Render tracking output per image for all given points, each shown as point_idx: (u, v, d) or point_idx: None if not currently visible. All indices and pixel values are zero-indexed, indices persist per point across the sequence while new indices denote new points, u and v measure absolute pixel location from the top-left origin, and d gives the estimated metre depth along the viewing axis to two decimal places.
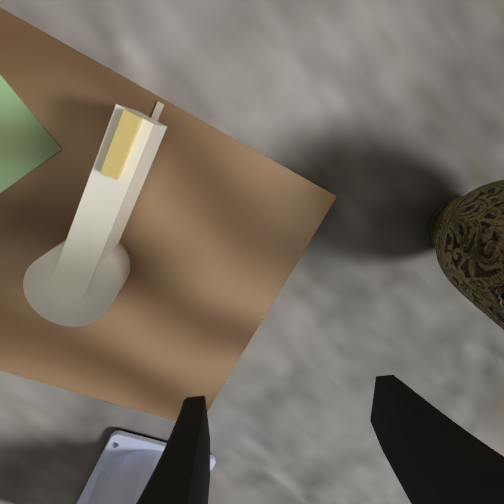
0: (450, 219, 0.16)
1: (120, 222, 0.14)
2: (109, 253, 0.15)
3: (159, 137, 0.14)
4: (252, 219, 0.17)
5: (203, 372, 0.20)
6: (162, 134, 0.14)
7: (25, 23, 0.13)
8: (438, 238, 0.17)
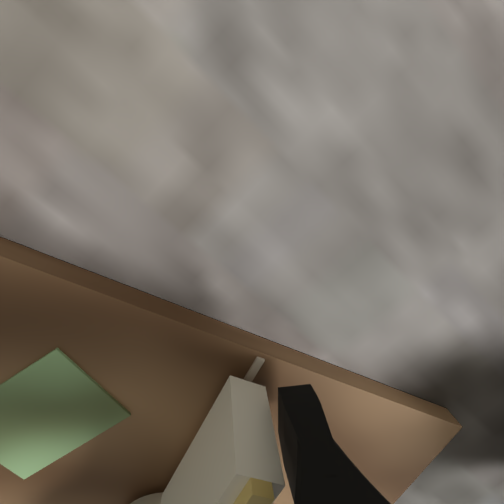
0: None
1: None
2: None
3: None
4: (357, 457, 0.14)
5: None
6: None
7: (93, 292, 0.10)
8: None
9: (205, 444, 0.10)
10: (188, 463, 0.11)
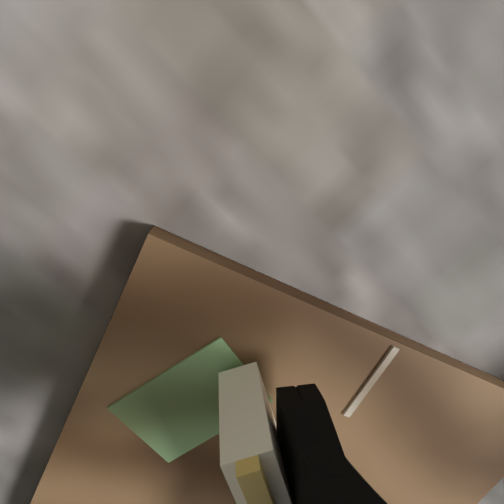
0: None
1: None
2: None
3: (263, 391, 0.10)
4: (465, 443, 0.14)
5: None
6: (260, 378, 0.11)
7: (262, 285, 0.11)
8: None
9: None
10: None
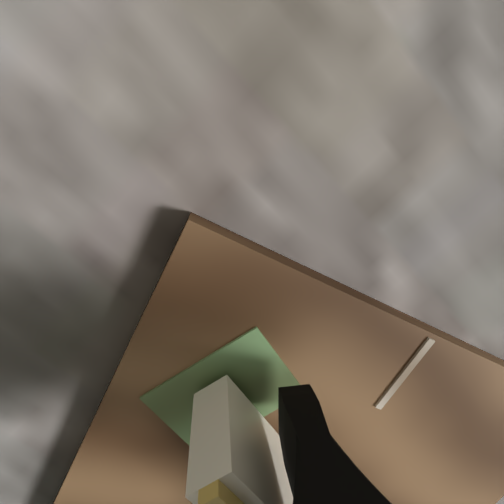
0: None
1: None
2: None
3: (236, 404, 0.10)
4: (494, 437, 0.14)
5: None
6: (233, 390, 0.11)
7: (300, 274, 0.10)
8: None
9: None
10: None
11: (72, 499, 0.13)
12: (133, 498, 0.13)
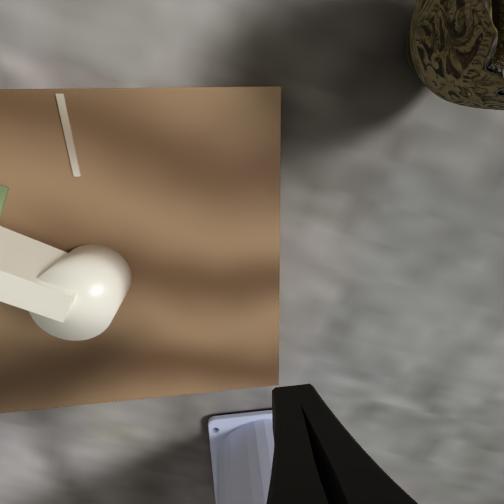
0: (413, 30, 0.13)
1: (8, 251, 0.14)
2: (53, 264, 0.15)
3: None
4: (210, 159, 0.16)
5: (253, 331, 0.19)
6: None
7: None
8: (413, 62, 0.13)
9: None
10: None
11: None
12: None
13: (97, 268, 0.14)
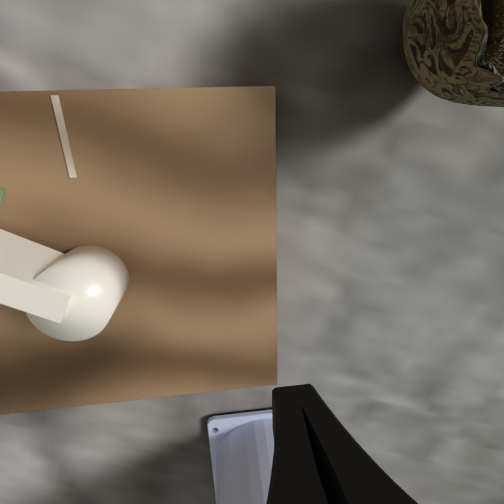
0: (406, 28, 0.13)
1: (5, 253, 0.14)
2: (49, 265, 0.15)
3: None
4: (206, 159, 0.16)
5: (251, 330, 0.19)
6: None
7: None
8: (407, 60, 0.13)
9: None
10: None
11: None
12: None
13: (93, 269, 0.14)
